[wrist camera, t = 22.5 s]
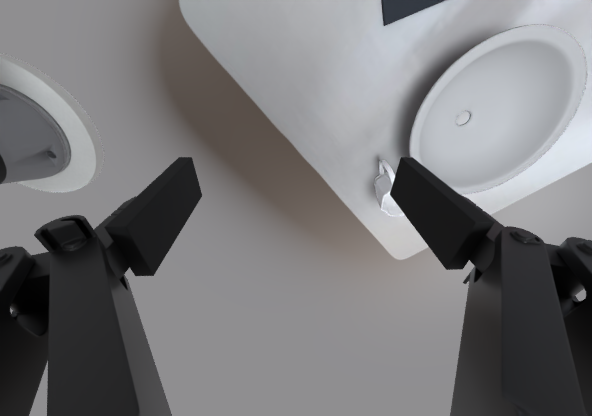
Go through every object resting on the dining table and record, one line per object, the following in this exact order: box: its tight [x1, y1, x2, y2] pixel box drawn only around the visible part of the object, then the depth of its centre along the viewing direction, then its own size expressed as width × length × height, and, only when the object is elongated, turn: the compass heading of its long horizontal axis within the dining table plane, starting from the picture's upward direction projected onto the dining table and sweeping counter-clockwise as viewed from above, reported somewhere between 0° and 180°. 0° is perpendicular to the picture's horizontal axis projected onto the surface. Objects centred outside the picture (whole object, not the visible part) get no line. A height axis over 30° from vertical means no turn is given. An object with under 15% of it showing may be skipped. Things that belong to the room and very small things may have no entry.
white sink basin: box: [409, 25, 587, 195], centre depth 36 cm, size 24×24×7 cm
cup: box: [374, 160, 405, 217], centre depth 41 cm, size 7×10×8 cm
